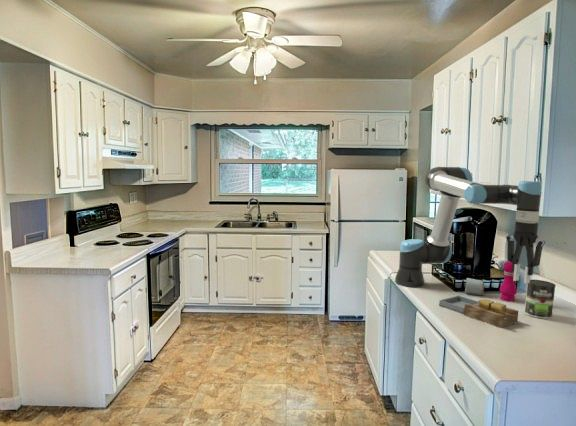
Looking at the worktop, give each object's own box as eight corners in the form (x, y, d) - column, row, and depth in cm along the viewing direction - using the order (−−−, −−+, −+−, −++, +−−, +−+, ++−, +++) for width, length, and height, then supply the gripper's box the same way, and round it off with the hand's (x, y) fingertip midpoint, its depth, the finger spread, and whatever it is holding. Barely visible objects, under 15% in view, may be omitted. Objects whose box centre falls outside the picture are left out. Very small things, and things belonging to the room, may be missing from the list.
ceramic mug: (483, 297, 196) (484, 281, 195) (465, 294, 199) (466, 279, 198) (481, 291, 206) (483, 276, 205) (464, 289, 209) (465, 274, 208)
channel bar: (464, 315, 171) (464, 304, 170) (480, 310, 177) (481, 299, 177) (501, 328, 158) (502, 316, 157) (517, 322, 164) (518, 310, 164)
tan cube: (478, 309, 169) (479, 300, 169) (484, 307, 172) (485, 298, 171) (488, 312, 166) (488, 303, 166) (493, 310, 168) (494, 301, 168)
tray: (439, 305, 182) (439, 300, 182) (457, 300, 190) (458, 295, 190) (463, 313, 172) (463, 308, 172) (482, 308, 180) (482, 302, 180)
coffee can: (555, 320, 167) (558, 287, 165) (526, 316, 170) (529, 284, 169) (548, 312, 176) (551, 281, 175) (522, 309, 180) (524, 278, 178)
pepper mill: (512, 302, 188) (516, 260, 186) (496, 298, 194) (499, 258, 191) (518, 299, 193) (522, 258, 191) (502, 296, 198) (505, 256, 196)
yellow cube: (490, 313, 165) (491, 303, 165) (495, 311, 167) (496, 302, 167) (500, 316, 162) (500, 306, 161) (505, 314, 164) (506, 305, 164)
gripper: (500, 219, 158) (495, 277, 161) (545, 225, 145) (539, 288, 147) (510, 218, 162) (505, 275, 165) (555, 223, 149) (549, 285, 151)
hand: (521, 281), depth 156 cm, fingers open, 3 cm apart
